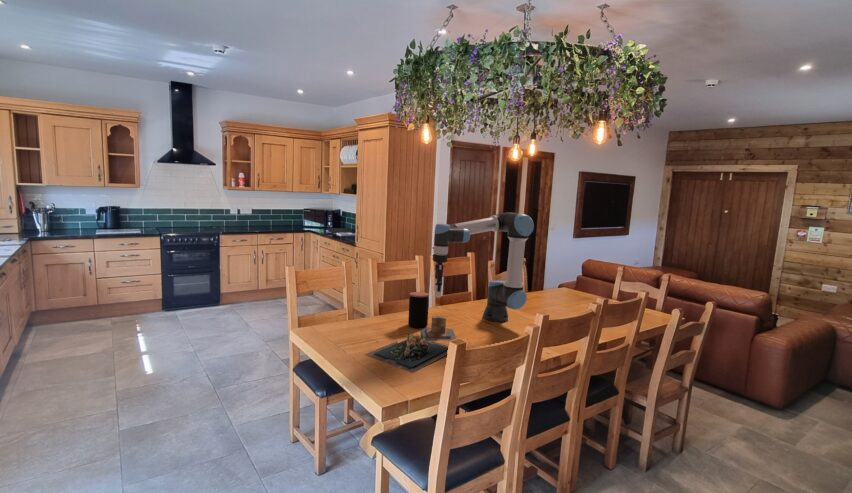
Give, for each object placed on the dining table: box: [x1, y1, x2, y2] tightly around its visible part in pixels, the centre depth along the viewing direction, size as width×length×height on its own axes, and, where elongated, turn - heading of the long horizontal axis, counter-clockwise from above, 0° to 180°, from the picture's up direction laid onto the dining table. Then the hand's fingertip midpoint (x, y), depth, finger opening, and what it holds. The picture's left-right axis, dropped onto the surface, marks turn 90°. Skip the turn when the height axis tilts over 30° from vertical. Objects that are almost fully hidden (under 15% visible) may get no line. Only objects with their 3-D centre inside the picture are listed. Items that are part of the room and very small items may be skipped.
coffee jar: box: [408, 291, 430, 329], centre depth 242 cm, size 11×11×18 cm
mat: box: [419, 327, 457, 342], centre depth 232 cm, size 18×18×1 cm
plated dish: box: [365, 330, 448, 374], centre depth 206 cm, size 35×28×7 cm
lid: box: [425, 315, 451, 339], centre depth 231 cm, size 12×12×9 cm
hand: (437, 294), depth 231 cm, fingers open, 13 cm apart
